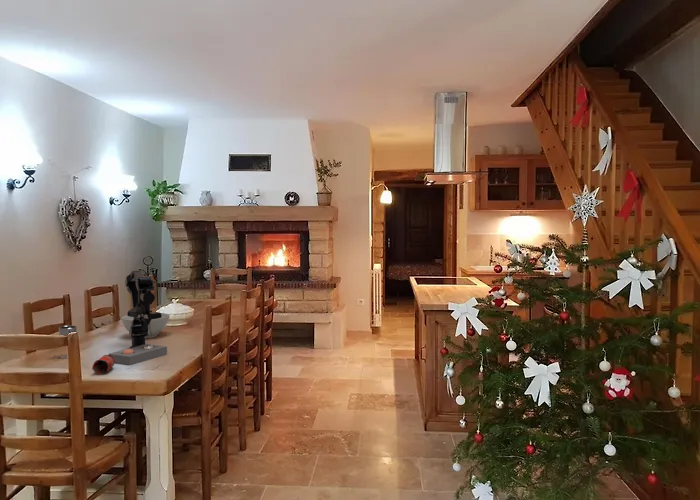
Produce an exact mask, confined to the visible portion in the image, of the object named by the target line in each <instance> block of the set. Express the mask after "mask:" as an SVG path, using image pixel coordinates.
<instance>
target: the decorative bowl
mask: <svg viewBox="0 0 700 500" xmlns="http://www.w3.org/2000/svg"><path fill="white" fill-rule="evenodd" d="M160 313H161V314H162V318H158V319H152V320H151V321H150V323H149V325H148V335H147V336H145V339H151V338H152V339H153V338H156V337H157V336H158V334H159V333H161V332H162V331H163V330H164V329H165V328H166V326H167V324H168V323H169V320H170V316H171V315H170V314H168V313H165V312H160ZM146 315H147V314H146ZM132 321H133V317H130V316H128V314H126V315H123V316H122V317H121V322H122V324H123V327H124V328H125V329H126V331H127V332H129V330H130V326H131V323H132Z"/></svg>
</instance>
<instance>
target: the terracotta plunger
mask: <svg viewBox="0 0 700 500" xmlns="http://www.w3.org/2000/svg"><path fill="white" fill-rule="evenodd" d="M125 349H126V350H125ZM125 349H122V350H123V354H131V353H133V349H129V348H125Z"/></svg>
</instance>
